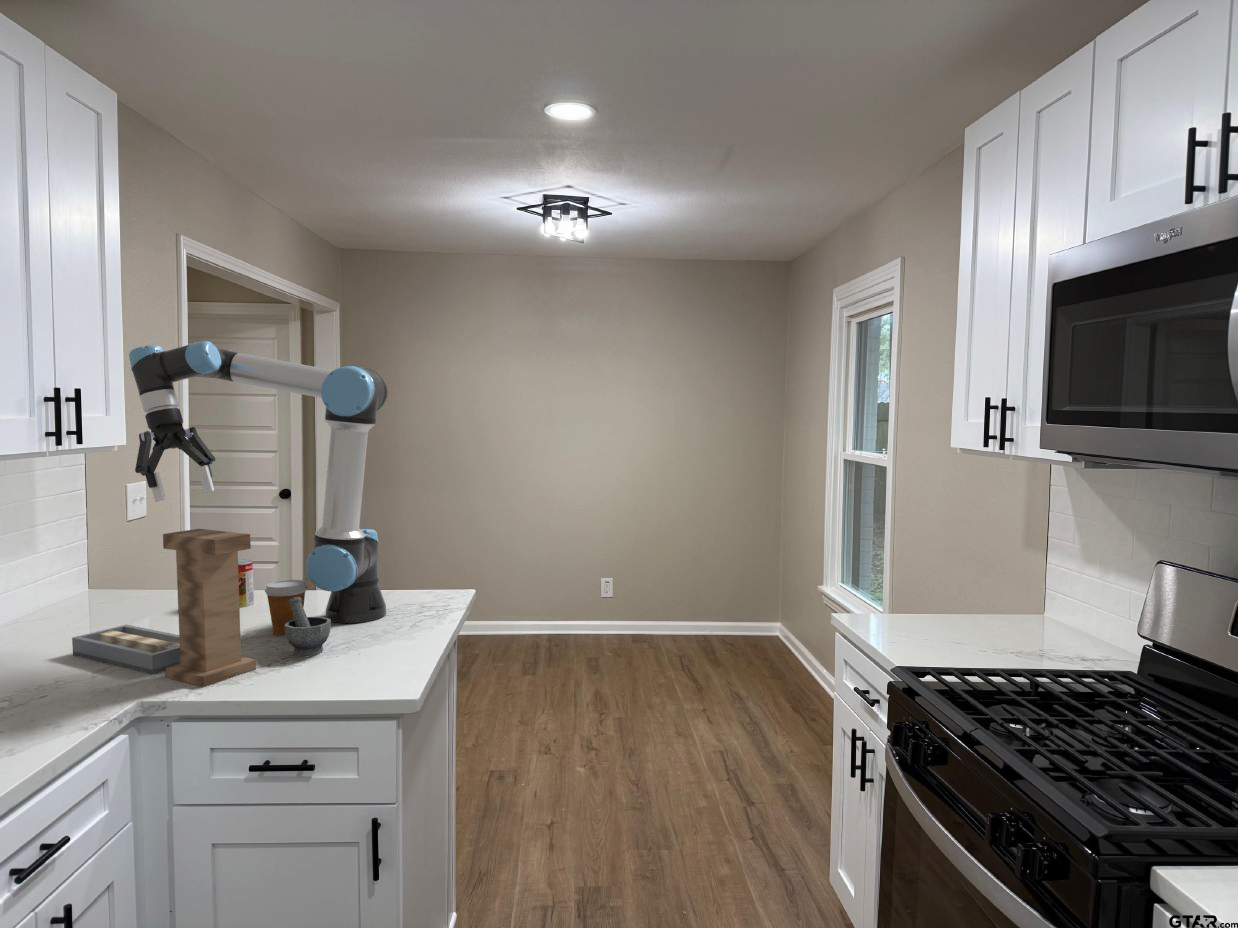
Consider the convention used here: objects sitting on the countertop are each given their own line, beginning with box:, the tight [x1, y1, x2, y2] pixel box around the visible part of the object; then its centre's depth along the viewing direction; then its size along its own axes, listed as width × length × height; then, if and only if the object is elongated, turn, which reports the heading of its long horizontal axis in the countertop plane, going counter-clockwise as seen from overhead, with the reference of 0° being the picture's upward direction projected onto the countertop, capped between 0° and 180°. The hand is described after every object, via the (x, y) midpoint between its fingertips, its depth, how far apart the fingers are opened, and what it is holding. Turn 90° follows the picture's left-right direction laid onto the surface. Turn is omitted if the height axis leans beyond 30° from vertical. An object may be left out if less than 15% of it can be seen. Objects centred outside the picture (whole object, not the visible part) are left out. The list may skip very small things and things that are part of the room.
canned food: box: [238, 558, 255, 609], centre depth 224 cm, size 8×8×12 cm
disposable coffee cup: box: [264, 579, 308, 636], centre depth 197 cm, size 10×10×12 cm
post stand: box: [162, 528, 257, 688], centre depth 166 cm, size 16×12×29 cm
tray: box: [71, 624, 180, 675], centre depth 177 cm, size 28×12×4 cm, turn 63°
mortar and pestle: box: [284, 597, 332, 657], centre depth 181 cm, size 11×9×12 cm
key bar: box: [99, 630, 180, 653], centre depth 177 cm, size 24×4×3 cm, turn 64°
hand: (185, 496), depth 194 cm, fingers open, 13 cm apart
